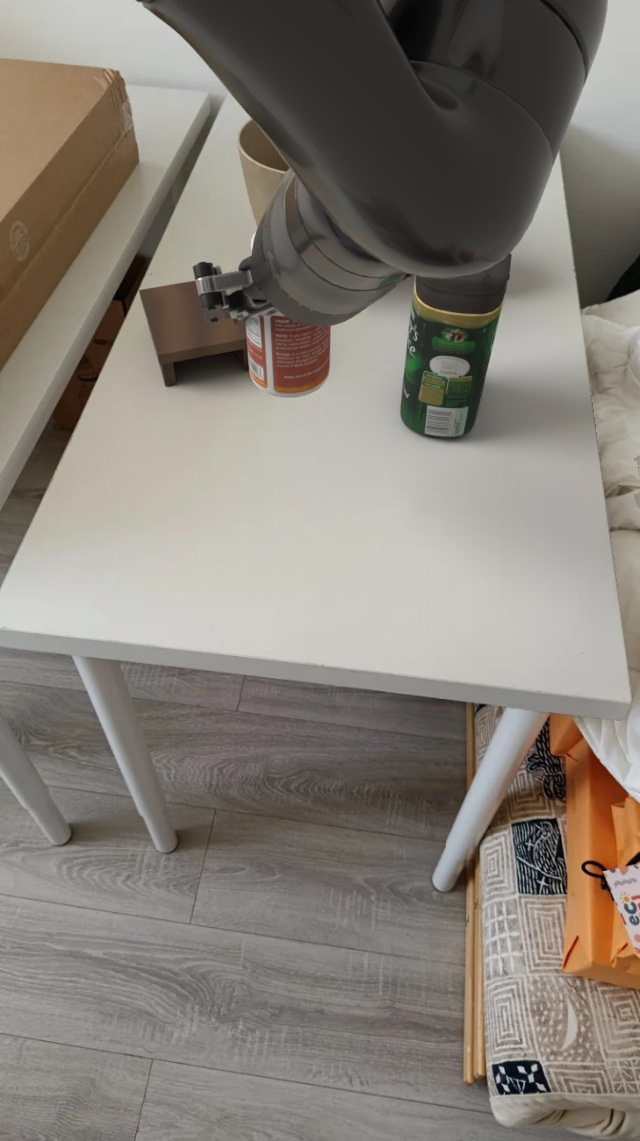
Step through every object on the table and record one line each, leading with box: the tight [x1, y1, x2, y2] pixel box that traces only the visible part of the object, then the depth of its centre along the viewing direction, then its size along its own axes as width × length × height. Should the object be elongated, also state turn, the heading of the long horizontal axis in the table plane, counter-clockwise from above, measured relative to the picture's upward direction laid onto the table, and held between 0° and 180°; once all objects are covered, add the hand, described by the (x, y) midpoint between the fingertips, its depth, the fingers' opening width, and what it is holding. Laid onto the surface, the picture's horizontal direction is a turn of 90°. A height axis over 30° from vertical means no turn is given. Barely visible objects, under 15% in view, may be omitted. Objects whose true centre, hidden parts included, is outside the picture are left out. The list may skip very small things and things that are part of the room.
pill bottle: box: [245, 231, 332, 399], centre depth 55 cm, size 6×6×11 cm
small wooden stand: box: [138, 280, 249, 387], centre depth 82 cm, size 10×11×4 cm
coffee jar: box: [399, 252, 512, 440], centre depth 71 cm, size 10×8×19 cm
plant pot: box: [236, 117, 290, 229], centre depth 85 cm, size 15×15×16 cm
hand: (281, 301), depth 56 cm, fingers closed on pill bottle, 6 cm apart
